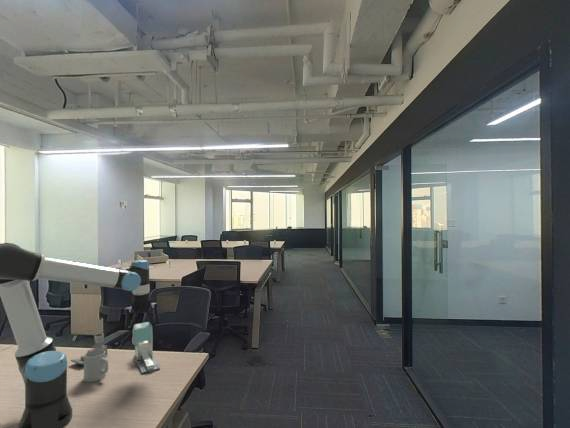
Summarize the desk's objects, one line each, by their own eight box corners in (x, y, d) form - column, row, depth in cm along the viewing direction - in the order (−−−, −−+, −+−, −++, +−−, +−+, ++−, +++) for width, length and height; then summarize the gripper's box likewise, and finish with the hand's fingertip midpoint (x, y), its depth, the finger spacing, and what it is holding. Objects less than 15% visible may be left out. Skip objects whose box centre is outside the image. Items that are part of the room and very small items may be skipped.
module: (152, 343, 145) (151, 326, 145) (135, 346, 141) (134, 329, 141) (149, 337, 151) (148, 321, 151) (133, 340, 148) (132, 324, 148)
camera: (110, 333, 162) (80, 344, 149) (110, 356, 162) (81, 369, 149) (99, 331, 166) (70, 341, 153) (100, 353, 166) (70, 365, 153)
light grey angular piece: (159, 369, 148) (159, 350, 148) (141, 374, 143) (141, 354, 143) (150, 352, 166) (150, 336, 166) (133, 356, 161) (133, 339, 162)
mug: (79, 380, 138) (79, 355, 138) (96, 371, 146) (96, 348, 146) (98, 385, 134) (99, 359, 134) (115, 375, 142) (115, 351, 142)
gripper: (161, 288, 155) (163, 333, 155) (116, 294, 144) (118, 344, 144) (165, 291, 148) (166, 338, 148) (117, 298, 137) (119, 349, 138)
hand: (142, 341), depth 146 cm, fingers closed on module, 7 cm apart
